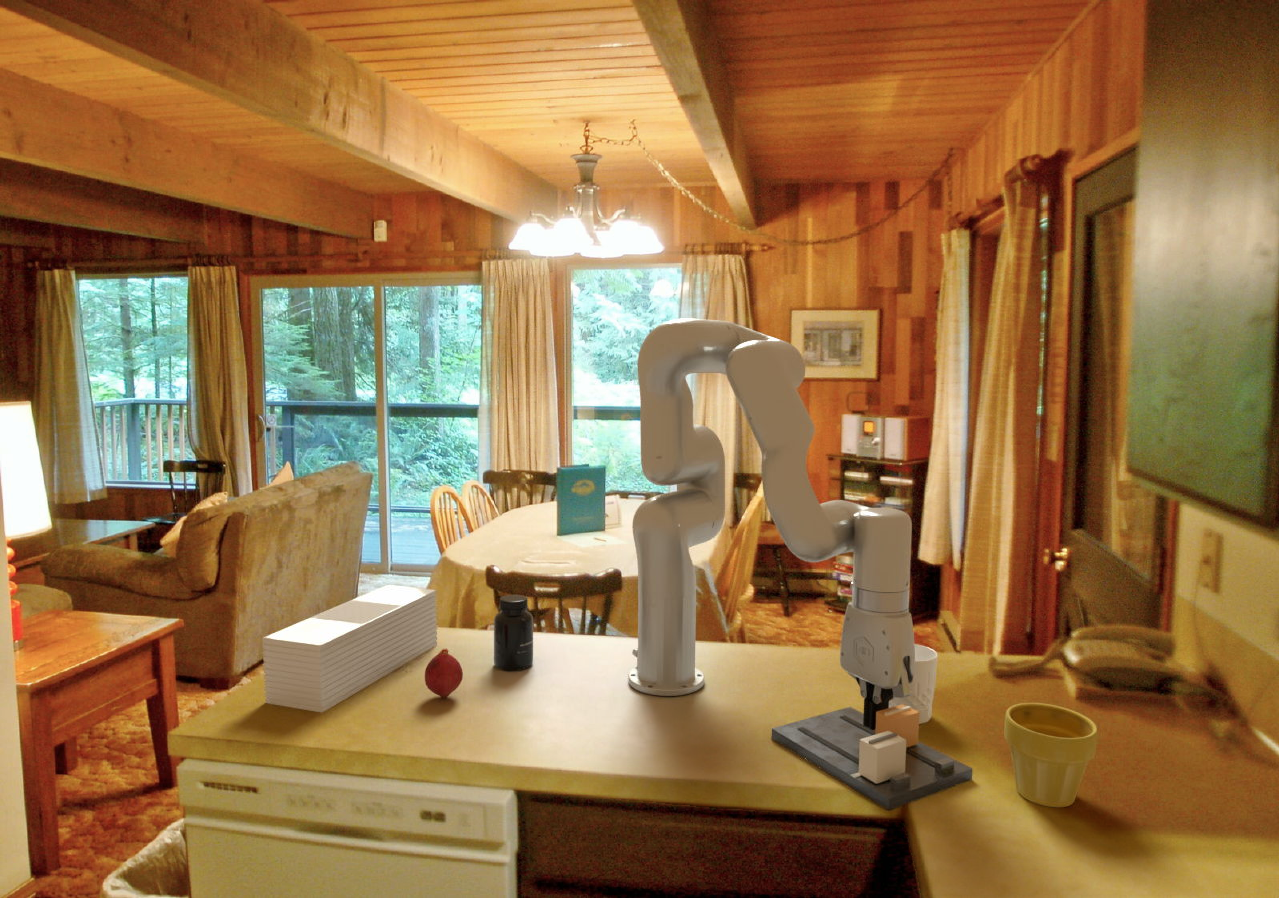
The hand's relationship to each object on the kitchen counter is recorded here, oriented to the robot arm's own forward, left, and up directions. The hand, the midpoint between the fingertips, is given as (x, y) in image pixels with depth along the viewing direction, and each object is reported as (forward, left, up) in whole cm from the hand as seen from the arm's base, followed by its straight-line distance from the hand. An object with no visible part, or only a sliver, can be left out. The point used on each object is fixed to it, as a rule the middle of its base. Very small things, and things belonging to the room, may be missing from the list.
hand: (875, 725), depth 119 cm
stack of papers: (-64, -57, -3) cm, 85 cm away
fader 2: (+9, -8, -1) cm, 12 cm away
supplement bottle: (-54, -33, -3) cm, 63 cm away
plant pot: (+20, +8, -3) cm, 22 cm away
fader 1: (+4, 0, -1) cm, 4 cm away
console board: (+2, -4, -3) cm, 5 cm away
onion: (-46, -48, -3) cm, 66 cm away
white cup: (-5, +11, -3) cm, 13 cm away
